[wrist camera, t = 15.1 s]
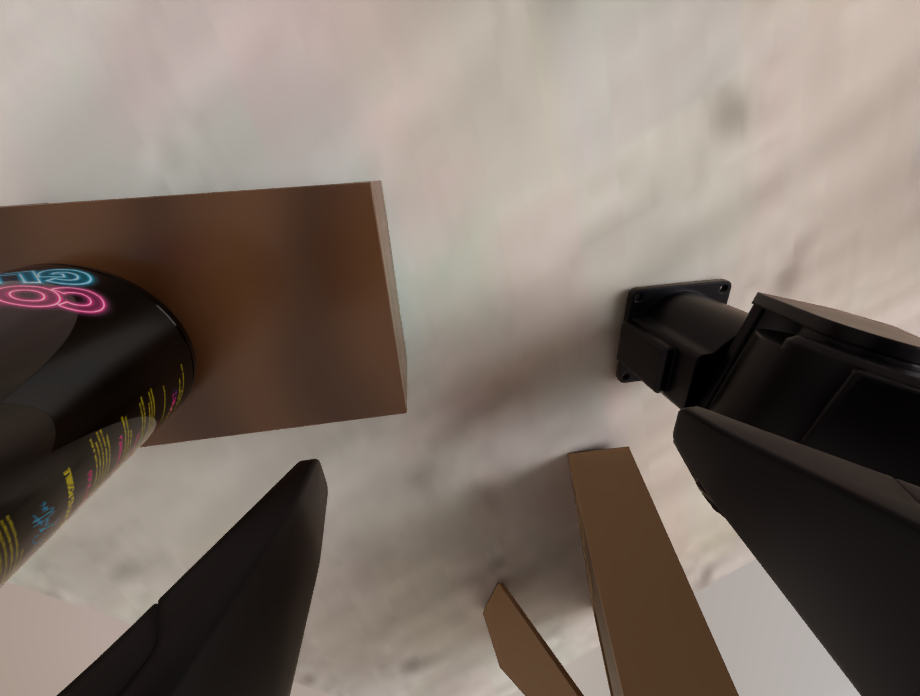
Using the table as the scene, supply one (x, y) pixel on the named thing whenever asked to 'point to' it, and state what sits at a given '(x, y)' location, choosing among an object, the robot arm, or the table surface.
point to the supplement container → (77, 391)
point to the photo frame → (619, 598)
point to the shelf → (249, 296)
